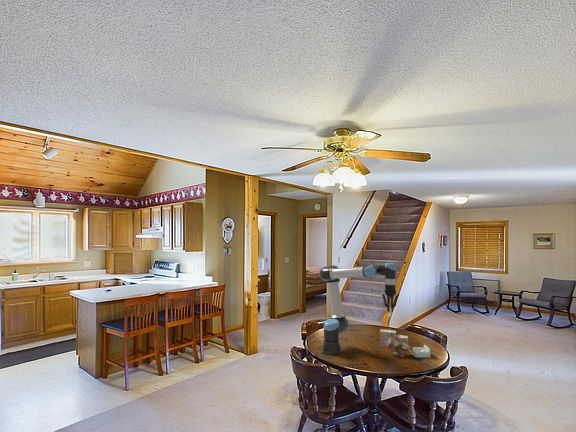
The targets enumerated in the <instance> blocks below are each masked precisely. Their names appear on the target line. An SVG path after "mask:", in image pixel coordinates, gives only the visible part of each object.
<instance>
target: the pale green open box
mask: <svg viewBox="0 0 576 432" xmlns="http://www.w3.org/2000/svg"><path fill="white" fill-rule="evenodd" d="M411 347H412V346H411ZM412 348H413V351H414V352H415V353H416V354H413V353H411V355H412V356H413V357H415V358H419V359H420V358H423V359H424V358H429V359H430V358H431V348H429V347H428V346H427V345H426V344H423V347H418V346H417V347H415V346H414V347H412ZM421 350H425V351H426V352H421Z"/></svg>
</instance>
